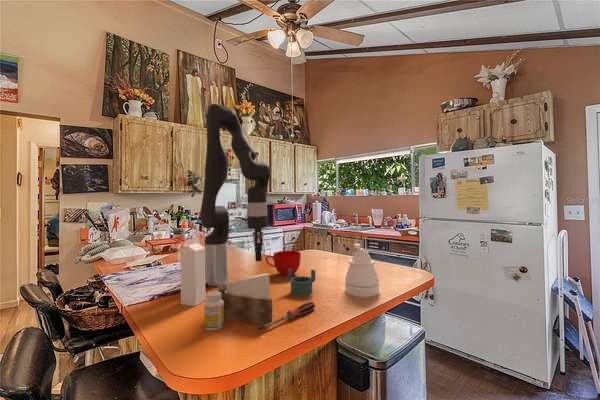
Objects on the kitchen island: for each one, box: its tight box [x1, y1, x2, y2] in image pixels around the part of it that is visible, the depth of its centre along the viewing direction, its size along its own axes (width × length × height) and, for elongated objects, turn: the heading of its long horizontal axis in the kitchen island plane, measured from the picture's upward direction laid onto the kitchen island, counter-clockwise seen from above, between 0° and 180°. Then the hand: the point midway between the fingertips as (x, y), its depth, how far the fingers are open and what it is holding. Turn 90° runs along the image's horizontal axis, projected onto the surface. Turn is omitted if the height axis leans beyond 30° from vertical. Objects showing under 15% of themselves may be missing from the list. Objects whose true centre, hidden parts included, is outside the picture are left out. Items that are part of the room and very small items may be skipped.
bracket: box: [287, 269, 316, 297], centre depth 113 cm, size 9×9×9 cm
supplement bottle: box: [203, 290, 225, 332], centre depth 83 cm, size 5×5×10 cm
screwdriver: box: [254, 301, 316, 332], centre depth 87 cm, size 25×3×3 cm, turn 138°
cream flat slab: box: [216, 272, 271, 298], centre depth 97 cm, size 19×3×9 cm, turn 133°
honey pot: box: [344, 243, 380, 298], centre depth 113 cm, size 13×13×18 cm
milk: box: [179, 238, 207, 307], centre depth 103 cm, size 6×6×22 cm
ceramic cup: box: [265, 250, 302, 277], centre depth 139 cm, size 13×17×10 cm
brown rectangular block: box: [219, 291, 273, 326], centre depth 88 cm, size 19×4×8 cm, turn 71°
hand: (258, 260), depth 109 cm, fingers closed
